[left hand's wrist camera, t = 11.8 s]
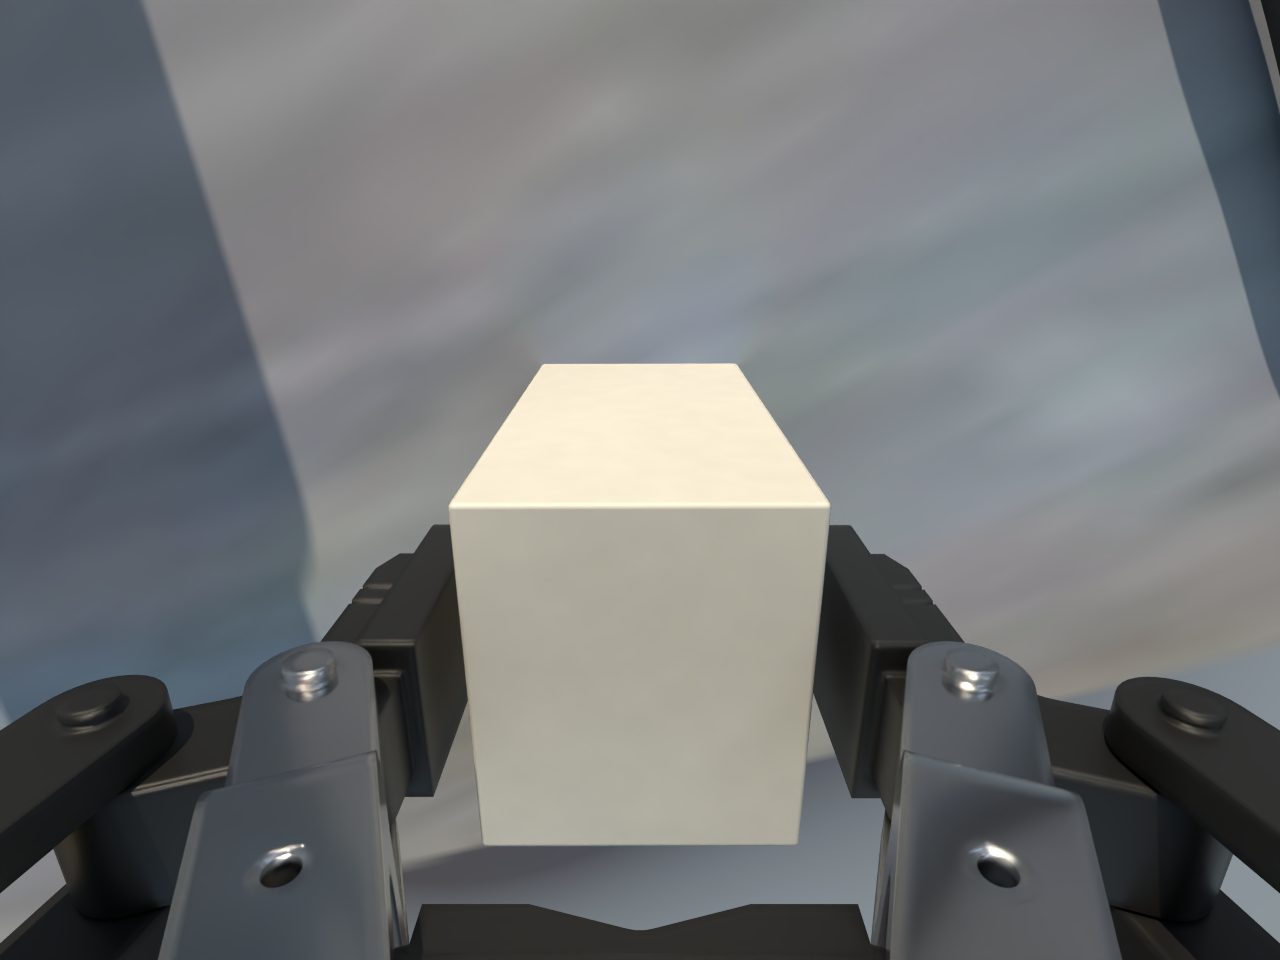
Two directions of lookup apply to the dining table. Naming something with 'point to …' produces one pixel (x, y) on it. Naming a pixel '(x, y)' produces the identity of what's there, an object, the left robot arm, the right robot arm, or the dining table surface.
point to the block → (639, 612)
